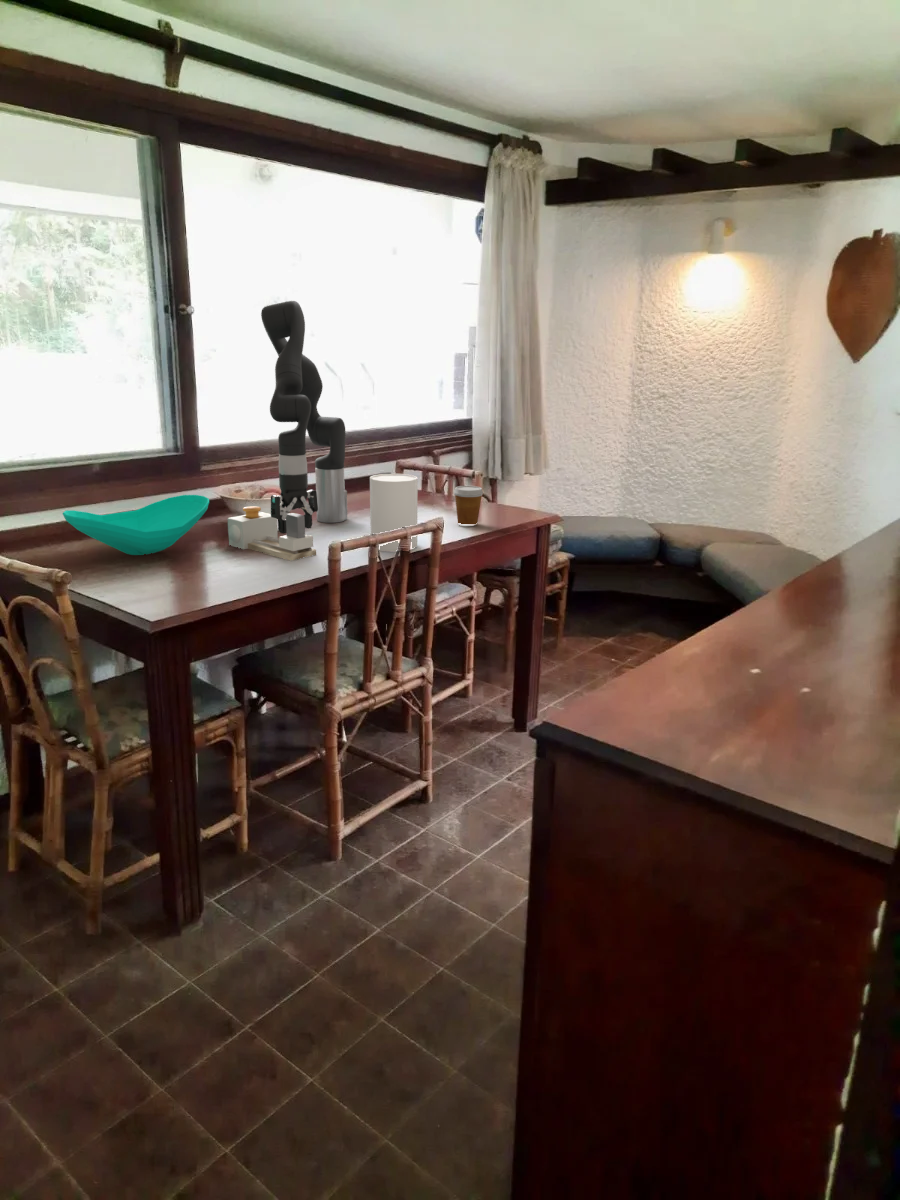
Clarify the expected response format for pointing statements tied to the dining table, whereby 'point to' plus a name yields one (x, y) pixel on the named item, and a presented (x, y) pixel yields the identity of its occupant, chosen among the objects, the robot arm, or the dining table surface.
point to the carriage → (295, 534)
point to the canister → (393, 504)
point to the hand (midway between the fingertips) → (295, 530)
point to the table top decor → (142, 524)
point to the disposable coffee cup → (468, 503)
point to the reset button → (252, 512)
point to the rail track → (279, 549)
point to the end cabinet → (251, 529)
